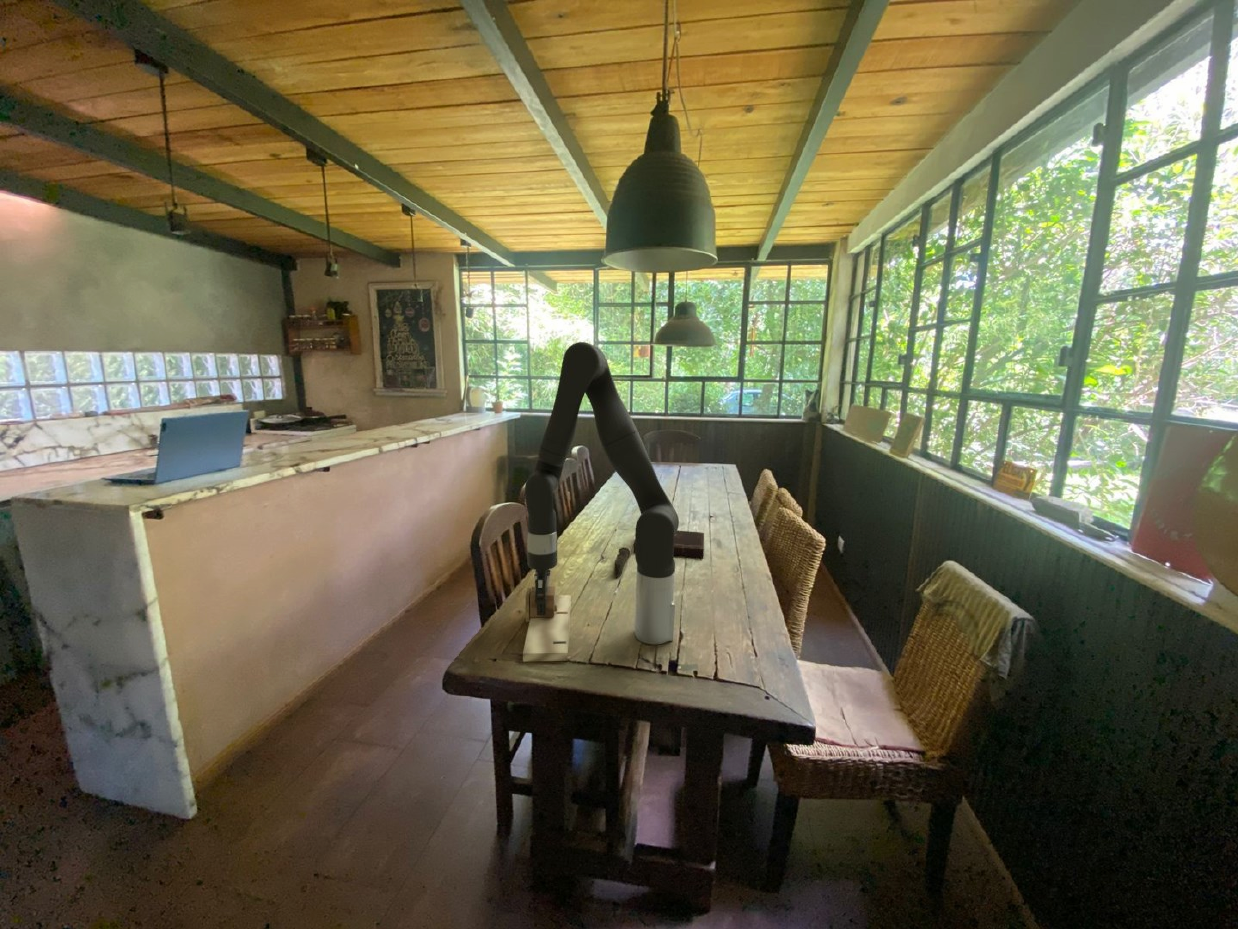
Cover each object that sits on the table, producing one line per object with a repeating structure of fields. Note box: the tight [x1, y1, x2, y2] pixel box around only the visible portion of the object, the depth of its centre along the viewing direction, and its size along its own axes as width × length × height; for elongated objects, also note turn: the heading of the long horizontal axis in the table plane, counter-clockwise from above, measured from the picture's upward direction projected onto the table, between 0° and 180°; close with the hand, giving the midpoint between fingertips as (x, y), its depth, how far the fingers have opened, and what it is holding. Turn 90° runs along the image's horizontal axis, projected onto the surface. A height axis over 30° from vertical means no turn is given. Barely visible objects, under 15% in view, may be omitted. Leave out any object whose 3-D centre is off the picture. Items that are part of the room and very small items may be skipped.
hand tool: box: [613, 546, 631, 579], centre depth 160 cm, size 19×4×5 cm, turn 169°
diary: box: [633, 530, 705, 560], centre depth 179 cm, size 19×25×5 cm
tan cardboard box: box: [525, 586, 557, 623], centre depth 124 cm, size 8×5×7 cm, turn 94°
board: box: [522, 594, 572, 663], centre depth 121 cm, size 10×28×2 cm, turn 4°
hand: (542, 606), depth 124 cm, fingers open, 8 cm apart
